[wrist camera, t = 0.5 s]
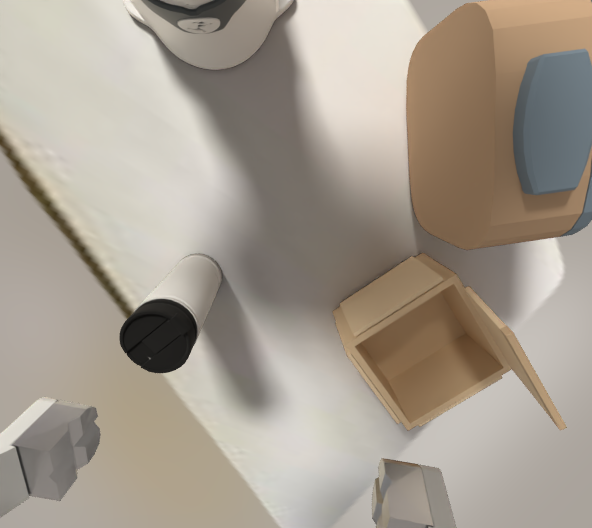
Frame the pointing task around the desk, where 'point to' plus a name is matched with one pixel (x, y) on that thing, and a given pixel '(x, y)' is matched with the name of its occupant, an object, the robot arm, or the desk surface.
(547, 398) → the flap
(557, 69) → the alarm clock
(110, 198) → the desk surface
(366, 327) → the carton
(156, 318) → the travel mug
